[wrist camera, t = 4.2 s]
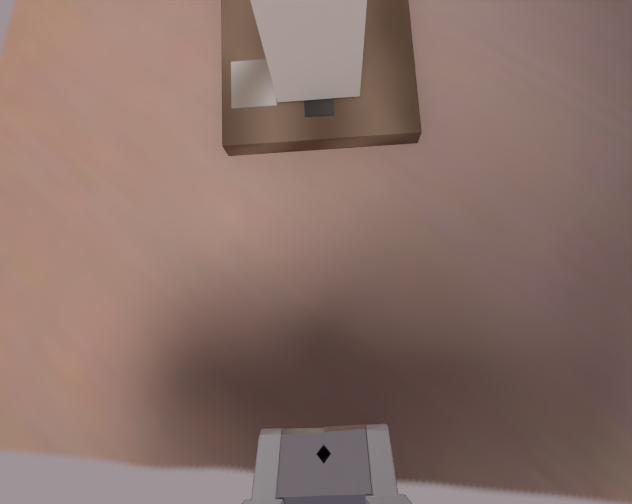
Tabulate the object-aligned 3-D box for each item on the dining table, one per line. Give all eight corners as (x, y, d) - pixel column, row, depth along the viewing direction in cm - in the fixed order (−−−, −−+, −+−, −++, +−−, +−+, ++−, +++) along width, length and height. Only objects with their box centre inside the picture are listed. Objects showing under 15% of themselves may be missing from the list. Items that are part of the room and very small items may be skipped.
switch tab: (356, 51, 28) (363, -82, 19) (359, 96, 27) (368, -21, 18) (276, 58, 28) (246, -71, 19) (277, 102, 27) (247, -10, 19)
